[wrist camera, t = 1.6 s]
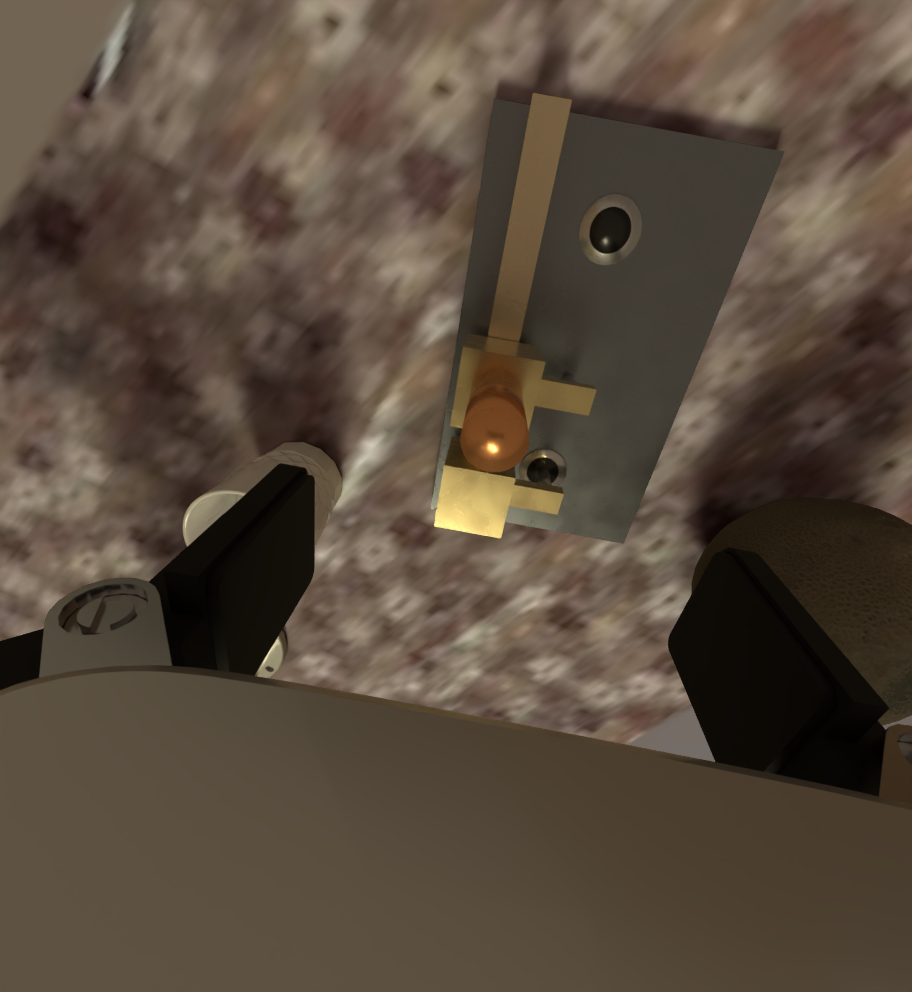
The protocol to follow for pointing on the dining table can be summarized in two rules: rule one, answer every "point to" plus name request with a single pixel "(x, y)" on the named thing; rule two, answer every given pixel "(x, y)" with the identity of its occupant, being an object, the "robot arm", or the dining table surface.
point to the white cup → (247, 477)
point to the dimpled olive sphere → (841, 581)
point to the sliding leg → (507, 399)
